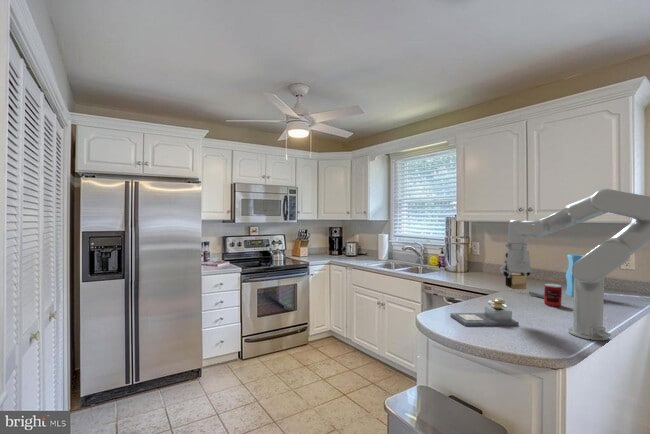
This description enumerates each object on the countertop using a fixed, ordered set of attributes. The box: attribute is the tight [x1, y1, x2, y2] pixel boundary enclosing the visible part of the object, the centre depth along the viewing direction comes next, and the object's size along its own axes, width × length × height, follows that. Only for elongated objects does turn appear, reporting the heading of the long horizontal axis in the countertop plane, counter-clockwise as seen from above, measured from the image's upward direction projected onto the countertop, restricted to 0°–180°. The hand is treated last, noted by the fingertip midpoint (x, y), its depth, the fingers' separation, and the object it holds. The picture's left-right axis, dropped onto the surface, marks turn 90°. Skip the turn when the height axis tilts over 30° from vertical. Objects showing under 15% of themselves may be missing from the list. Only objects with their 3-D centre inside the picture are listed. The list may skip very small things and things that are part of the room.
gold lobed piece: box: [491, 298, 506, 310], centre depth 150 cm, size 5×5×5 cm
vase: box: [565, 254, 585, 298], centre depth 202 cm, size 10×10×25 cm
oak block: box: [504, 273, 528, 290], centre depth 151 cm, size 6×6×6 cm
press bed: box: [450, 305, 520, 327], centre depth 150 cm, size 14×24×6 cm, turn 95°
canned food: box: [543, 283, 563, 308], centre depth 180 cm, size 8×8×11 cm
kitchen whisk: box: [505, 287, 544, 299], centre depth 203 cm, size 6×33×6 cm, turn 25°
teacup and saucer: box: [487, 297, 508, 308], centre depth 179 cm, size 9×8×4 cm
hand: (515, 285), depth 151 cm, fingers closed on oak block, 6 cm apart
